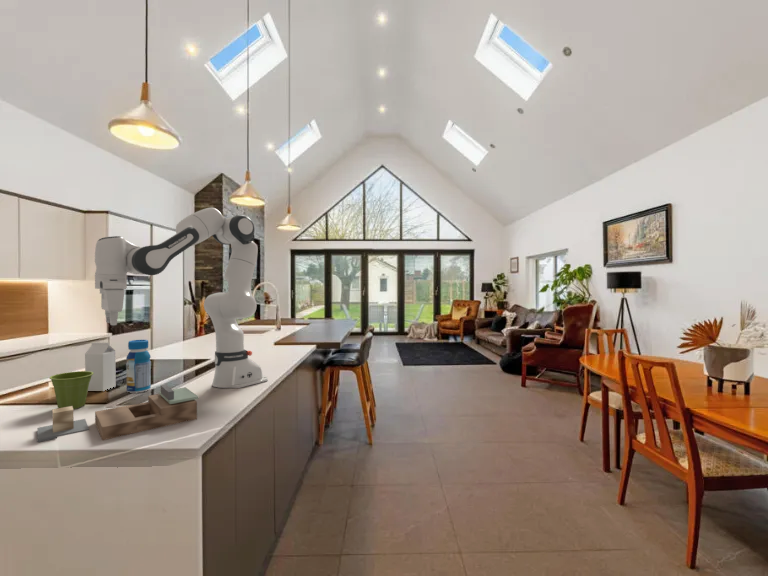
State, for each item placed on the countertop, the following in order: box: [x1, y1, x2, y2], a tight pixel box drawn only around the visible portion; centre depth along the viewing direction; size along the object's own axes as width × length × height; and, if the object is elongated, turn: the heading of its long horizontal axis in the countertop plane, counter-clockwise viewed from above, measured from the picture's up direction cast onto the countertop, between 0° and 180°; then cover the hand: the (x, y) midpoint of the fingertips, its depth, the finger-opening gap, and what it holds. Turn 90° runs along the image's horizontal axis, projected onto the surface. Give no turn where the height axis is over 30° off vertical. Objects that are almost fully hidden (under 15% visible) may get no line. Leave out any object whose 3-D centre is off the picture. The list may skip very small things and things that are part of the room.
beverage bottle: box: [125, 339, 152, 394], centre depth 152 cm, size 8×8×20 cm
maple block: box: [51, 406, 75, 433], centre depth 111 cm, size 4×4×6 cm
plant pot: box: [48, 370, 93, 410], centre depth 132 cm, size 12×12×11 cm
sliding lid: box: [158, 384, 199, 404], centre depth 123 cm, size 8×14×3 cm, turn 43°
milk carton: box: [84, 342, 117, 392], centre depth 153 cm, size 7×7×19 cm
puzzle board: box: [94, 393, 198, 441], centre depth 117 cm, size 24×17×6 cm
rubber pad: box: [37, 418, 90, 443], centre depth 111 cm, size 11×11×1 cm
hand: (111, 324), depth 130 cm, fingers open, 8 cm apart
